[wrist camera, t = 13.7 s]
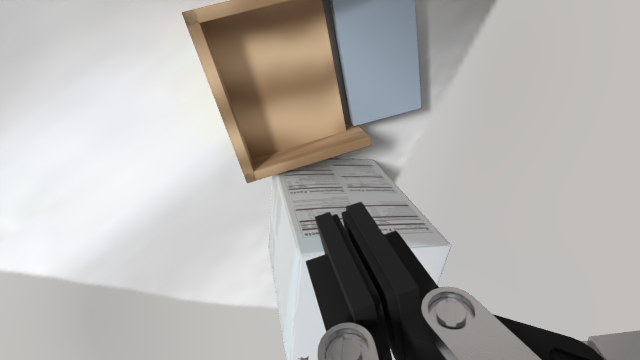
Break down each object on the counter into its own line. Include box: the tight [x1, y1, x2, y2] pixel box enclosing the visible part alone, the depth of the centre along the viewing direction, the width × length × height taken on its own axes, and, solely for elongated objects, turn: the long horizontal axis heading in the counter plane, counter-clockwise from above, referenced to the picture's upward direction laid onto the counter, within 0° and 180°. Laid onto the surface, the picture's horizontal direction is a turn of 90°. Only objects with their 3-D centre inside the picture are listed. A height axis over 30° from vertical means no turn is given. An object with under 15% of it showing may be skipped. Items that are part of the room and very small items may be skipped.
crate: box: [182, 0, 371, 183], centre depth 33 cm, size 16×14×5 cm
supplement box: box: [268, 159, 451, 360], centre depth 36 cm, size 13×13×18 cm
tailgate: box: [330, 0, 421, 126], centre depth 35 cm, size 13×2×8 cm
